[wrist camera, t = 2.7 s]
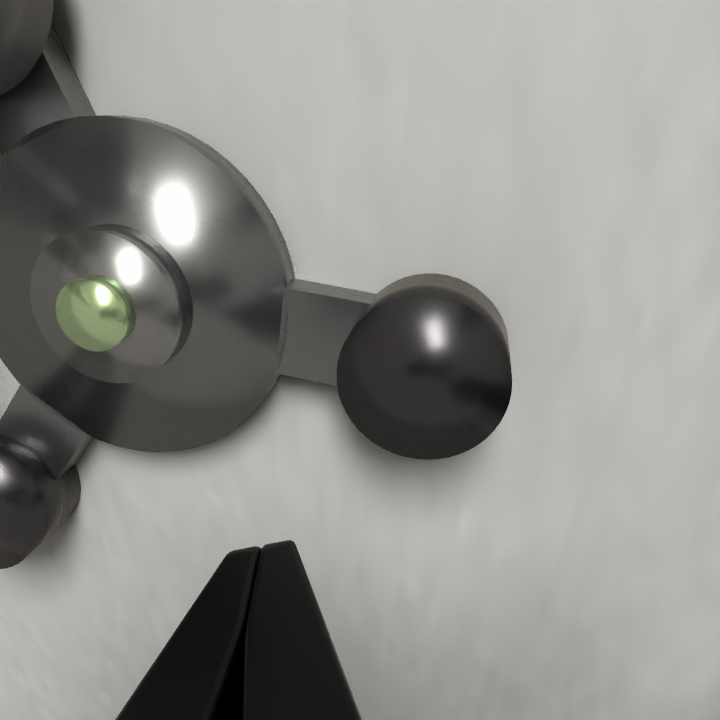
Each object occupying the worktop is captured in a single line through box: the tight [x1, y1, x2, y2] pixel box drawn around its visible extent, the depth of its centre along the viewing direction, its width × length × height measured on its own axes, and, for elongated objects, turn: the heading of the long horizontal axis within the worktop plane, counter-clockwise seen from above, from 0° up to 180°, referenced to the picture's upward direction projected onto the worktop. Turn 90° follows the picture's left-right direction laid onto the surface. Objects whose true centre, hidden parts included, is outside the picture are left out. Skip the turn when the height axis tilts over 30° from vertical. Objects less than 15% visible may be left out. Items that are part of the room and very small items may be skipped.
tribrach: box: [0, 25, 512, 569], centre depth 17 cm, size 18×20×3 cm
